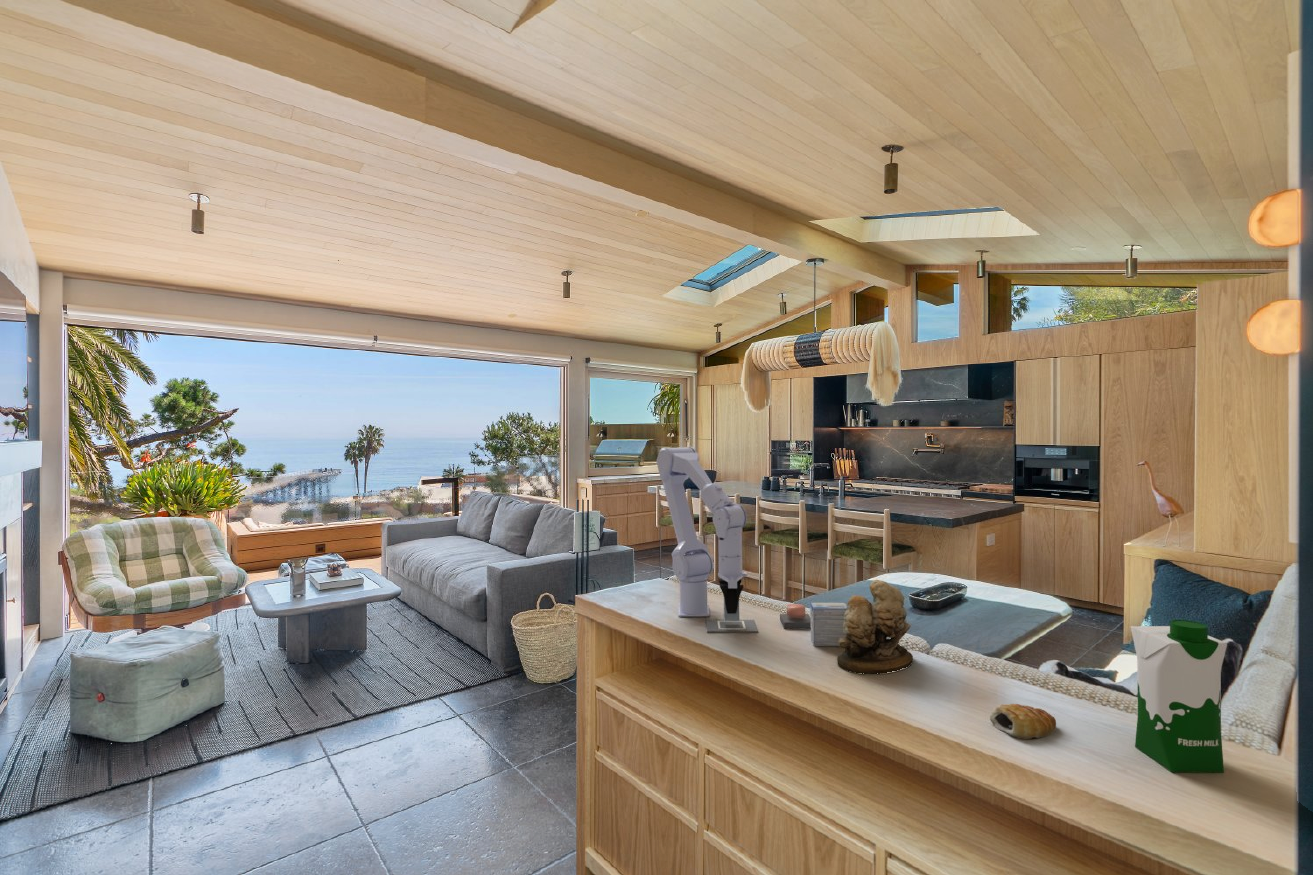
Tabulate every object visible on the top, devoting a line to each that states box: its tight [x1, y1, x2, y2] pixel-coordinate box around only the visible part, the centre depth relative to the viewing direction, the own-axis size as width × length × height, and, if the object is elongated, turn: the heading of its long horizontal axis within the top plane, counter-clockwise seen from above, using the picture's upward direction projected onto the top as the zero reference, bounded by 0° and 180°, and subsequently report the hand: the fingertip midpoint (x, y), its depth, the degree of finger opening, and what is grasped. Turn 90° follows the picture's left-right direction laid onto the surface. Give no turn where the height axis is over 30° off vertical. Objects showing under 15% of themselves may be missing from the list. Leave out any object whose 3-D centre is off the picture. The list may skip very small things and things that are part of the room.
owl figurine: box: [836, 579, 914, 675], centre depth 129 cm, size 18×12×17 cm, turn 120°
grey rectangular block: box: [723, 598, 740, 621], centre depth 154 cm, size 4×4×8 cm
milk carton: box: [1130, 619, 1228, 774], centre depth 90 cm, size 9×9×20 cm
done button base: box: [779, 613, 811, 630], centre depth 155 cm, size 7×7×2 cm
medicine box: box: [809, 602, 847, 647], centre depth 141 cm, size 8×4×9 cm, turn 84°
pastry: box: [989, 703, 1057, 740], centre depth 100 cm, size 9×7×4 cm
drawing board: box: [705, 619, 759, 634], centre depth 154 cm, size 9×12×1 cm
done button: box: [786, 603, 806, 618], centre depth 155 cm, size 4×4×2 cm
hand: (731, 610), depth 154 cm, fingers closed on grey rectangular block, 3 cm apart
